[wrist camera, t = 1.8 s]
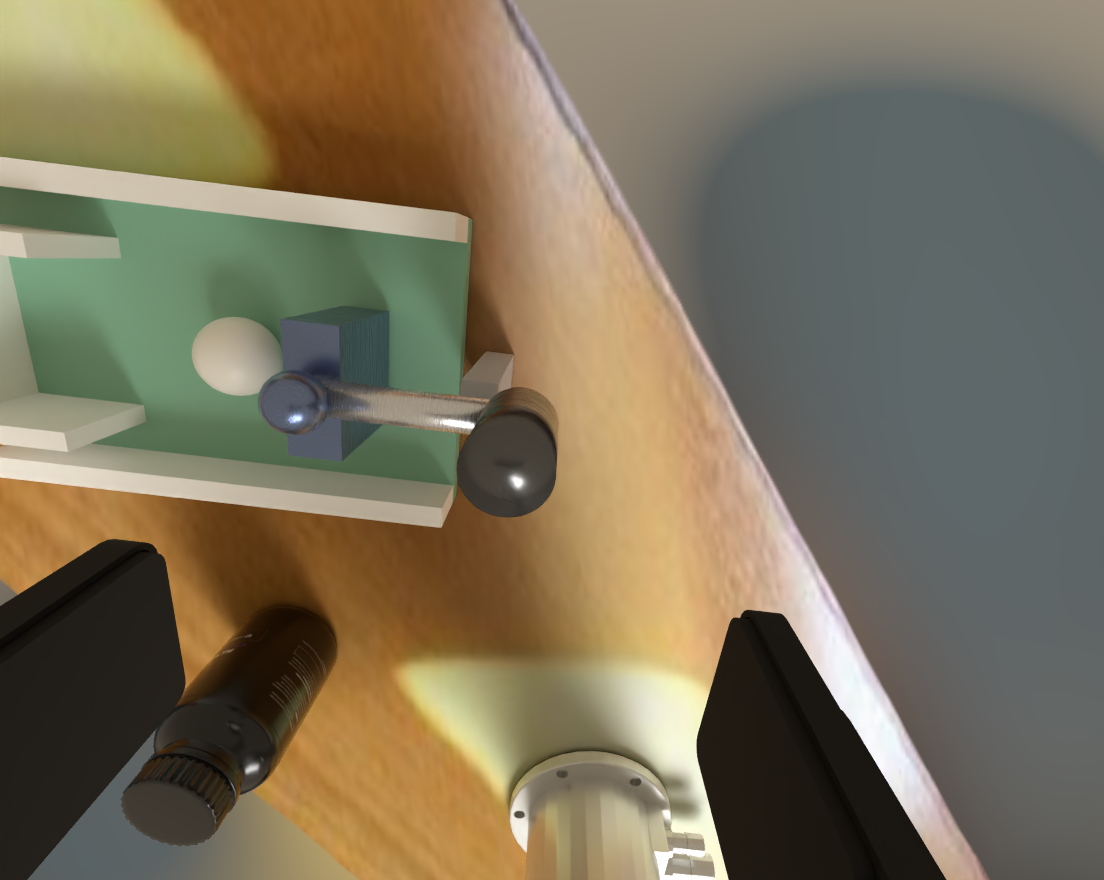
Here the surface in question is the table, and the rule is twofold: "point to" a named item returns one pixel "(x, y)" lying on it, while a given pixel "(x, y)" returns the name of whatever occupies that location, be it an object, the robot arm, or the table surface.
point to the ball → (236, 355)
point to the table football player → (404, 410)
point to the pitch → (198, 299)
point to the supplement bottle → (231, 726)
